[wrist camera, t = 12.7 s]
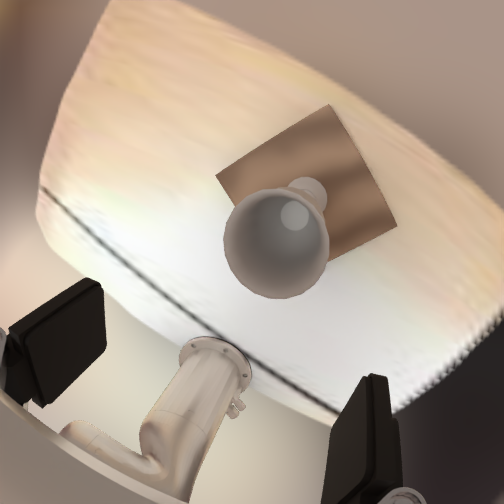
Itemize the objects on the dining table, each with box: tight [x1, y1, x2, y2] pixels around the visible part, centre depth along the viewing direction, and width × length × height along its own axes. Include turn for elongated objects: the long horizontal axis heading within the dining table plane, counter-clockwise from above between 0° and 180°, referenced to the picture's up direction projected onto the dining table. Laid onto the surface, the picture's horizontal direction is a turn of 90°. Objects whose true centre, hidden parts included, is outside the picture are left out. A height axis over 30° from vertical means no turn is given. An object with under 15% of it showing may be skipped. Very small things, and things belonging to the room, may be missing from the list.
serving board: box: [215, 104, 397, 262], centre depth 37 cm, size 16×16×2 cm
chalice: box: [223, 177, 329, 299], centre depth 28 cm, size 7×7×18 cm
